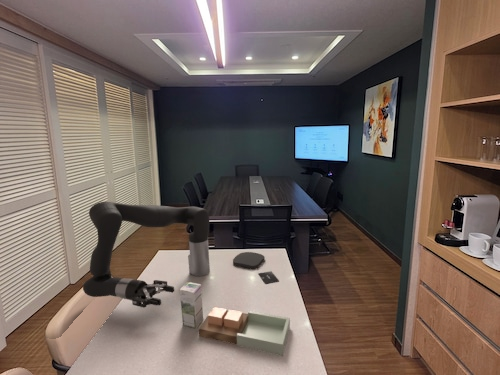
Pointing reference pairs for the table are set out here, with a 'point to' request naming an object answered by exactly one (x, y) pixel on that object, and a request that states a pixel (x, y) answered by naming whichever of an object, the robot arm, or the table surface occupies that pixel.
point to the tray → (265, 333)
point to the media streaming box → (248, 260)
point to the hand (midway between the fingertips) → (167, 295)
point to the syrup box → (191, 304)
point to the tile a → (217, 316)
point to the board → (222, 331)
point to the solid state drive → (268, 277)
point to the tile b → (233, 319)
